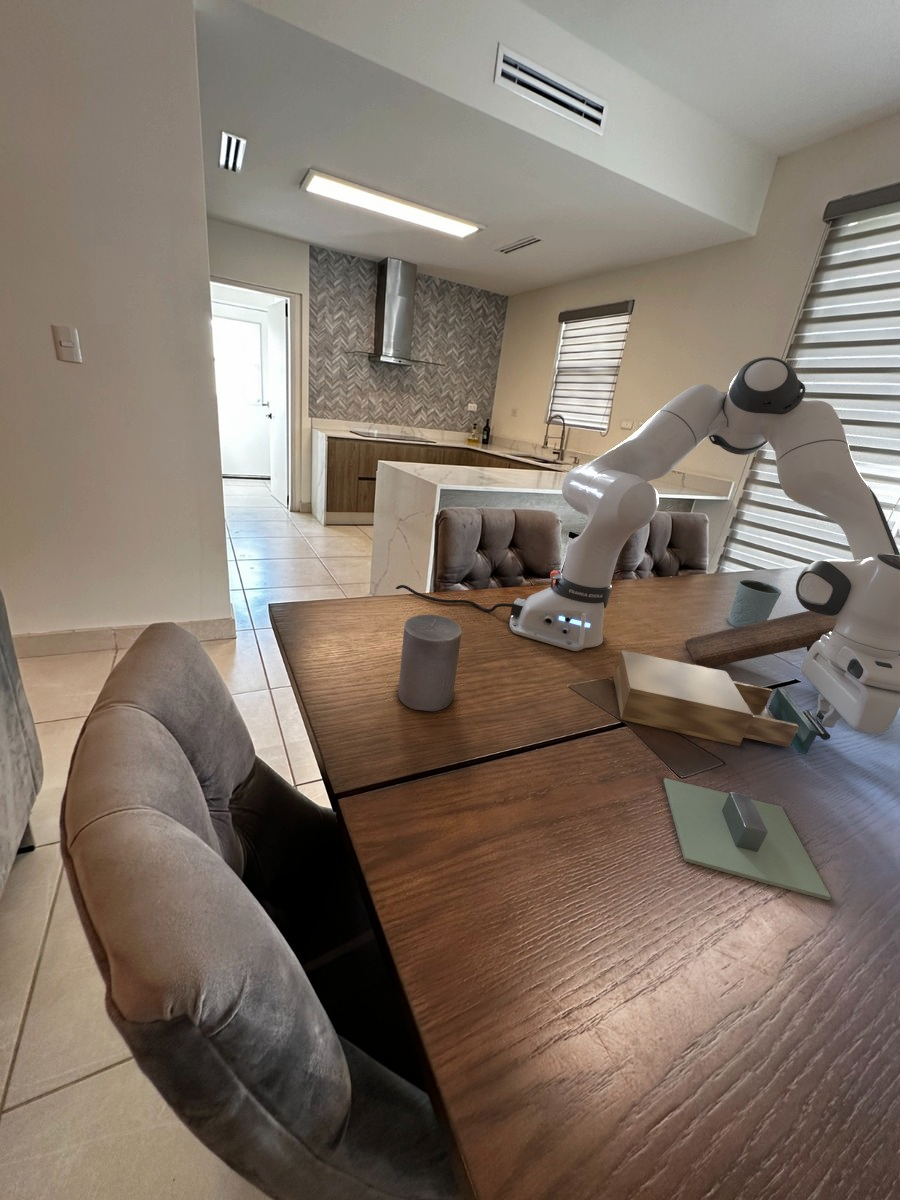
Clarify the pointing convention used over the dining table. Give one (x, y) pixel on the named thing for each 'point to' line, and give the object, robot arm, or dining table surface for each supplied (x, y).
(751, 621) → the teal plant pot
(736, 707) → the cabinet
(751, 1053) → the dining table surface
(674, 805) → the mat
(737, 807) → the slate gray brick
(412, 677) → the pillar candle
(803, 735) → the drawer
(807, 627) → the small wooden bench
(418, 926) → the dining table surface
